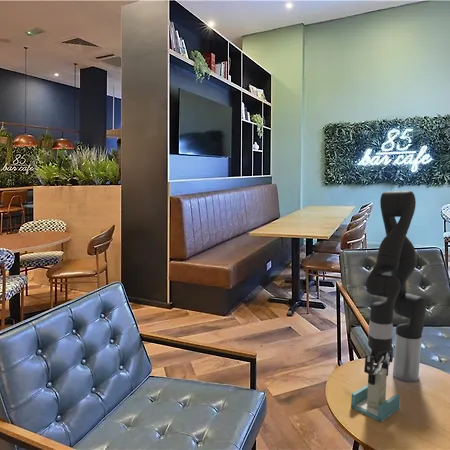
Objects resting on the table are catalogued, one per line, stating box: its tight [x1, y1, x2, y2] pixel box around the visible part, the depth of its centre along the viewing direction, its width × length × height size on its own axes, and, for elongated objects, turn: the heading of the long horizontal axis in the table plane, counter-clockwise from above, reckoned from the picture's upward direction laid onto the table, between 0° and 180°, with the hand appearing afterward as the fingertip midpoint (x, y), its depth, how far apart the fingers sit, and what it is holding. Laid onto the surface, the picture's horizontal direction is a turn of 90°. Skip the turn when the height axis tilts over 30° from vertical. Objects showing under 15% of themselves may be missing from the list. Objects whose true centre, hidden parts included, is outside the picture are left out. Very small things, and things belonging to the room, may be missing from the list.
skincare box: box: [367, 366, 388, 409], centre depth 141 cm, size 6×4×12 cm
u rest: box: [350, 383, 401, 423], centre depth 141 cm, size 12×11×5 cm
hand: (378, 379), depth 140 cm, fingers open, 8 cm apart
